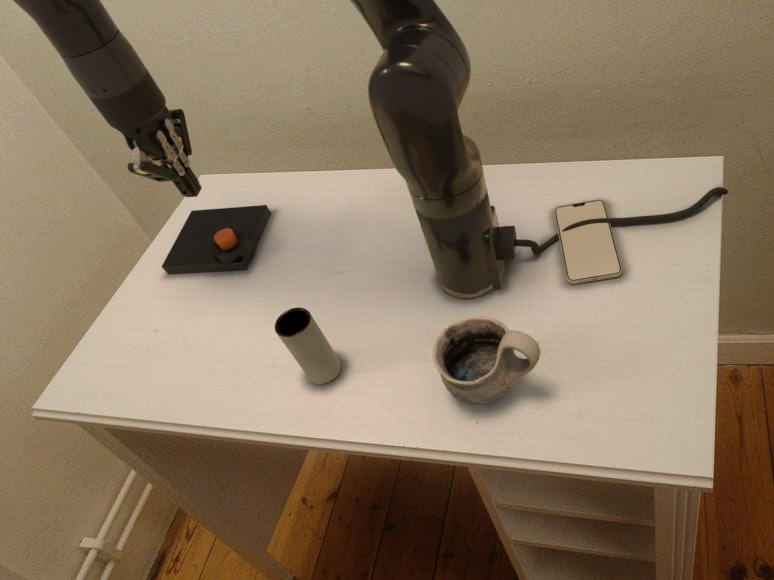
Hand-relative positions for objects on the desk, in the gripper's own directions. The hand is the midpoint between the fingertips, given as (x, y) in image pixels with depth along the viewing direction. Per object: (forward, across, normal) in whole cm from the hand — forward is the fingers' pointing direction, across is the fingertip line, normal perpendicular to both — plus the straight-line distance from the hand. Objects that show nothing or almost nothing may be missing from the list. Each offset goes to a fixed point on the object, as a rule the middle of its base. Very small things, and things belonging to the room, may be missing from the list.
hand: (194, 192), depth 87 cm
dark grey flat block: (+13, +4, +4) cm, 14 cm away
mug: (+13, -24, -44) cm, 51 cm away
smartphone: (+13, -1, -54) cm, 56 cm away
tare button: (+10, 0, 0) cm, 10 cm away
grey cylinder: (+13, -22, -20) cm, 33 cm away
